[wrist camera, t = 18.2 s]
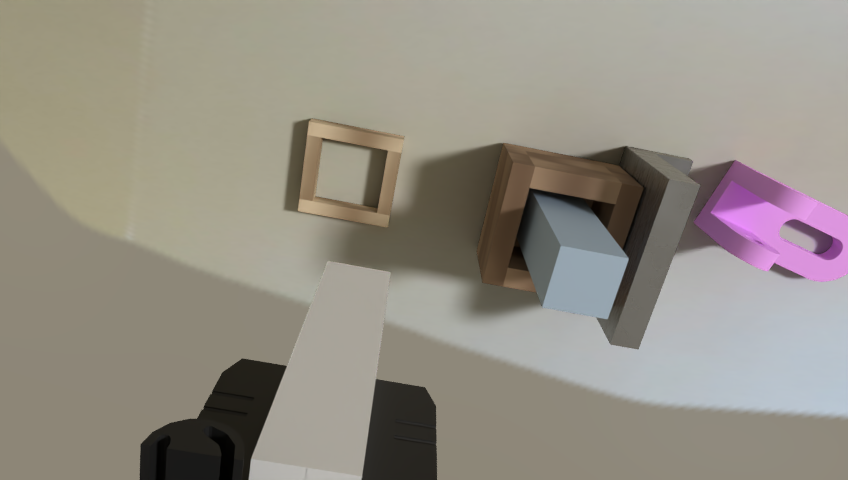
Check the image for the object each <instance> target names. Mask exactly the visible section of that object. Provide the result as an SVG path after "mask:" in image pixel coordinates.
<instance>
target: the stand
mask: <svg viewBox="0 0 848 480" xmlns="http://www.w3.org/2000/svg"><path fill="white" fill-rule="evenodd" d="M323 138H326V139H331V140H337V141H342V142H347V143H352V144H357V145H362V146H368V147H373V148H378V149H383V150H388V154H387V159H386V165H385V171H384V176H383V182H382V188H381V193H380V199H379V205H378V208H374V207H369V206H364V205H358V204H353V203H348V202H342V201H337V200H332V199H326V198H321V197H316V196H315V194H316V186H317V179H318V171H319V164H320V156H321V149H322V141H323ZM403 141H404V136H400V135H395V134H390V133H384V132H379V131H374V130H369V129H364V128H359V127H354V126H348V125H343V124H338V123H333V122H328V121H323V120H318V119H313V118H312V119H311V120H310V121H309V125H308V133H307V141H306V149H305V157H304V165H303V173H302V181H301V189H300V198H299V206H298V211H301V212H306V213H312V214H317V215H322V216H328V217H333V218H339V219H344V220H349V221H355V222H360V223H366V224H371V225H376V226H382V227H387V228H388V223H389V217H390V212H391V207H392V201H393V196H394V190H395V185H396V179H397V174H398V169H399V163H400V158H401V152H402V147H403Z"/></svg>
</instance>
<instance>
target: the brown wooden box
mask: <svg viewBox="0 0 848 480" xmlns="http://www.w3.org/2000/svg"><path fill="white" fill-rule="evenodd" d="M529 188H533V189H538V190H543V191H549V192H554V193H559V194H564V195H569V196H575V197H580V198H583V199H584V200H585V202H586V203H587V204H588V206H589V207H590V208H591V210H592V211H593V212H594V214H595V215H596V216H597V217H598V219H599V220H600V221H601V223H602V224H603V225H604V227H605V228H606V229H607V230H608V232H609V233H610V234H611V236H612V237H613V238H614V240H615V241H616V242H617V244H618V245H619V246H620V247H621V249H623V247H624V244H625V241H626V238H627V235H628V232H629V229H630V226H631V223H632V220H633V217H634V215H635V212H636V209H637V206H638V203H639V200H640V197H641V194H642V191H643V188H644V187H642V186H641V185H640V184H639V183H638V182H637V181H636V180H635V179H633V178H632V177H631V176H630V175H629V174H628V173H627V172H626V171H624V170H623V169H622V168H621V167H620V166H619V165H614V164H609V163H604V162H599V161H594V160H588V159H583V158H578V157H573V156H568V155H563V154H558V153H553V152H548V151H543V150H537V149H532V148H527V147H522V146H517V145H512V144H507V143H503V146H502V150H501V155H500V159H499V163H498V167H497V171H496V175H495V179H494V183H493V187H492V191H491V195H490V199H489V203H488V207H487V211H486V215H485V219H484V223H483V228H482V232H481V236H480V240H479V244H478V248H477V256H478V261H479V267H480V272H481V277H482V283H487V284H492V285H498V286H503V287H509V288H514V289H520V290H525V291H531V292H536V289H535V286H534V284H533V281H532V278H531V275H530V273H529V270H528V267H527V264H526V262H525V259H524V256H523V253H522V251H521V248H520V245H519V242H518V240H517V237H516V236H517V232H518V229H519V225H520V221H521V218H522V214H523V210H524V206H525V203H526V199H527V195H528V192H529ZM536 293H537V292H536Z"/></svg>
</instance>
